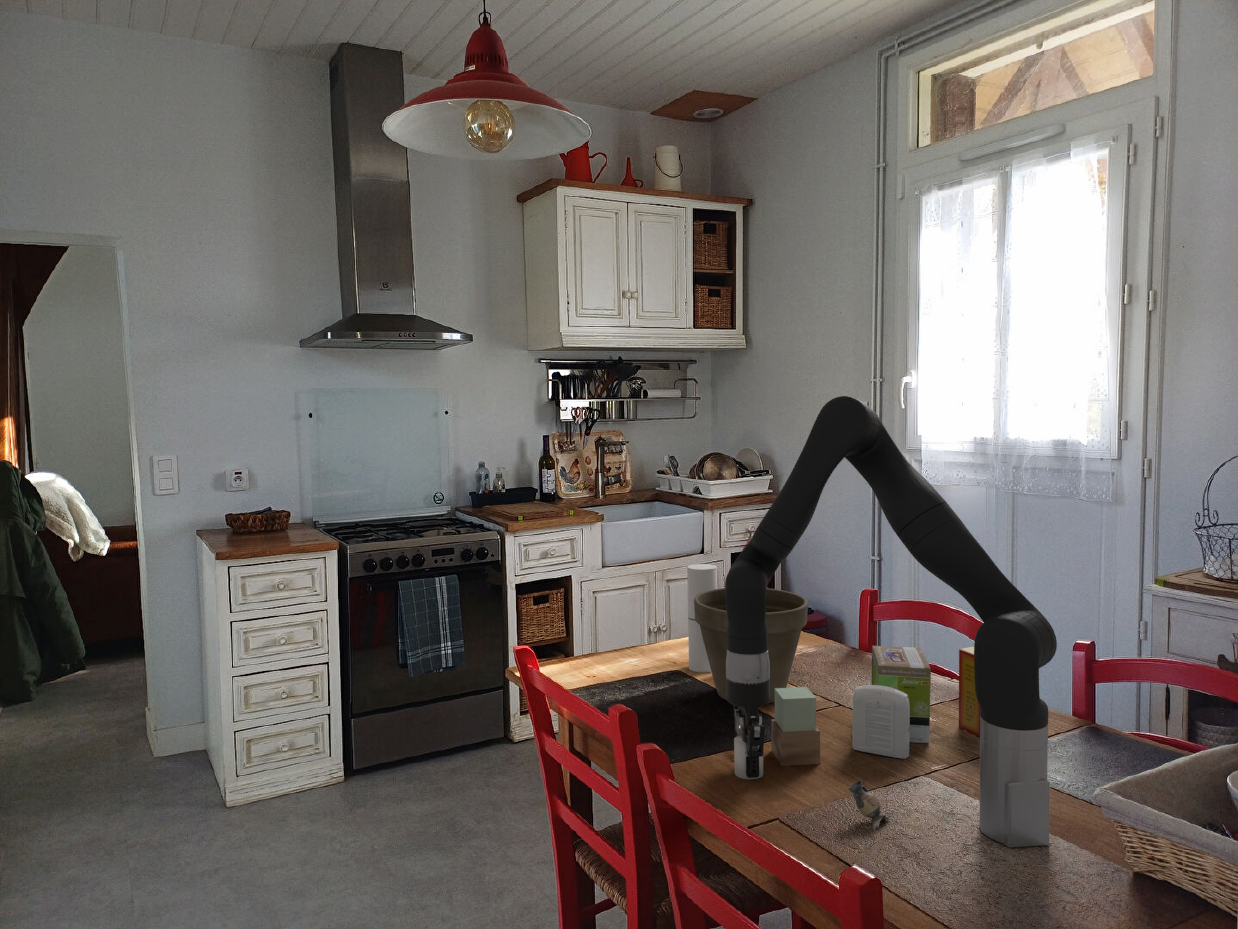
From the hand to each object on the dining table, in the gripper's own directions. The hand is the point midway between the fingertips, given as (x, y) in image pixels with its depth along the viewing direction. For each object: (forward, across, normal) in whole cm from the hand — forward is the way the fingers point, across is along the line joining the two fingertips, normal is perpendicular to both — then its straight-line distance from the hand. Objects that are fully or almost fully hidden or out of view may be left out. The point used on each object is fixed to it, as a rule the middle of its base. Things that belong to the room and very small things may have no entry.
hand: (748, 769), depth 157 cm
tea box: (+1, +17, -34) cm, 38 cm away
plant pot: (+1, +41, -10) cm, 42 cm away
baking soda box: (+1, +14, -51) cm, 53 cm away
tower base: (+1, +6, -10) cm, 12 cm away
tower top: (-5, +6, -10) cm, 13 cm away
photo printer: (+1, +6, -26) cm, 27 cm away
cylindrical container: (+1, +62, -3) cm, 62 cm away
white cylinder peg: (+1, 0, 0) cm, 1 cm away
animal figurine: (+1, -20, -14) cm, 24 cm away
